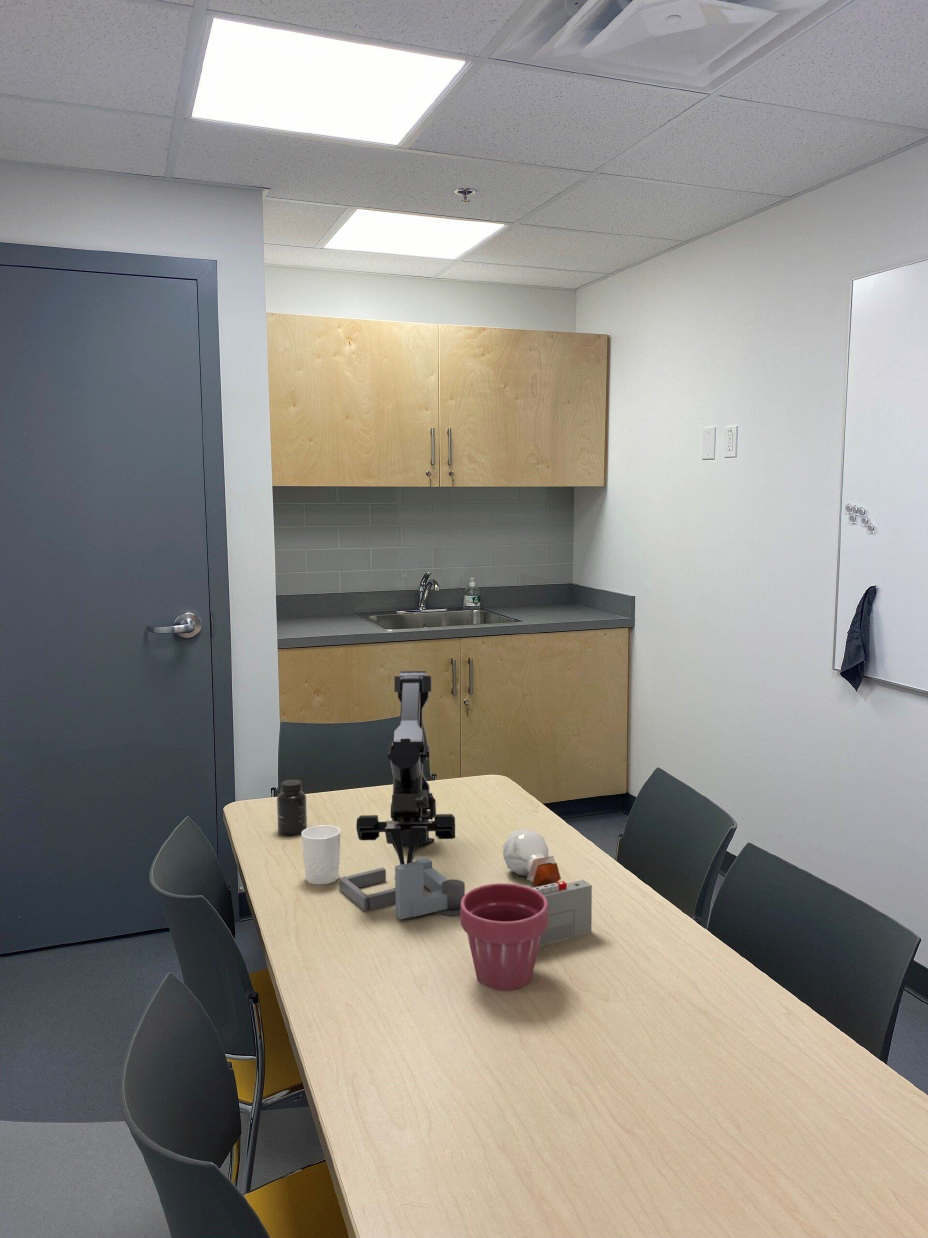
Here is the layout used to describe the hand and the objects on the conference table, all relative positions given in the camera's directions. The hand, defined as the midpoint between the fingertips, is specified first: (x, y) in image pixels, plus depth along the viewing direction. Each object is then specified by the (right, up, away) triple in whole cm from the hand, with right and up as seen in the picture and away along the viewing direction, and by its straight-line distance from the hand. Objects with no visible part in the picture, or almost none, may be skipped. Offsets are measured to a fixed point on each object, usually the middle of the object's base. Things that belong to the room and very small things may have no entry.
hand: (405, 870), depth 165 cm
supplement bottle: (-30, -4, +45) cm, 54 cm away
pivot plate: (+9, -8, +4) cm, 13 cm away
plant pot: (+17, -12, -21) cm, 30 cm away
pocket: (-7, -8, +10) cm, 14 cm away
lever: (+2, -7, +7) cm, 11 cm away
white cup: (-18, -7, +18) cm, 27 cm away
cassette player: (+26, -10, -9) cm, 29 cm away
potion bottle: (+25, -7, +17) cm, 31 cm away
